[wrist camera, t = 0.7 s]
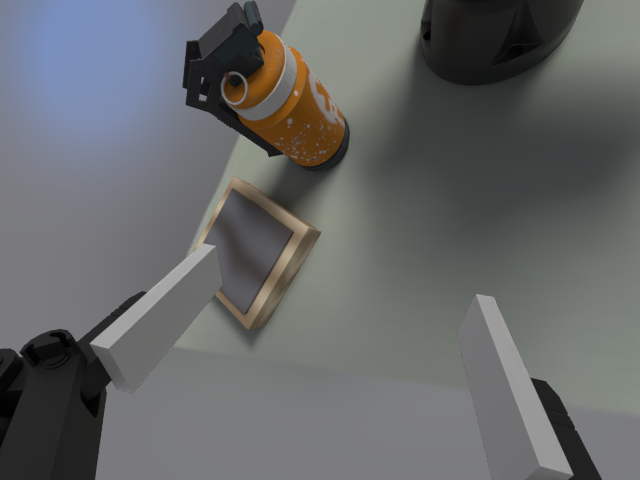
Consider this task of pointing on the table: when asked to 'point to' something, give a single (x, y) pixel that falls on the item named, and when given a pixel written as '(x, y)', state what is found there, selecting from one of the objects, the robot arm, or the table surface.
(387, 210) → the table surface
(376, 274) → the table surface
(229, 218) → the plinth
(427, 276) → the table surface
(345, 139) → the canister
